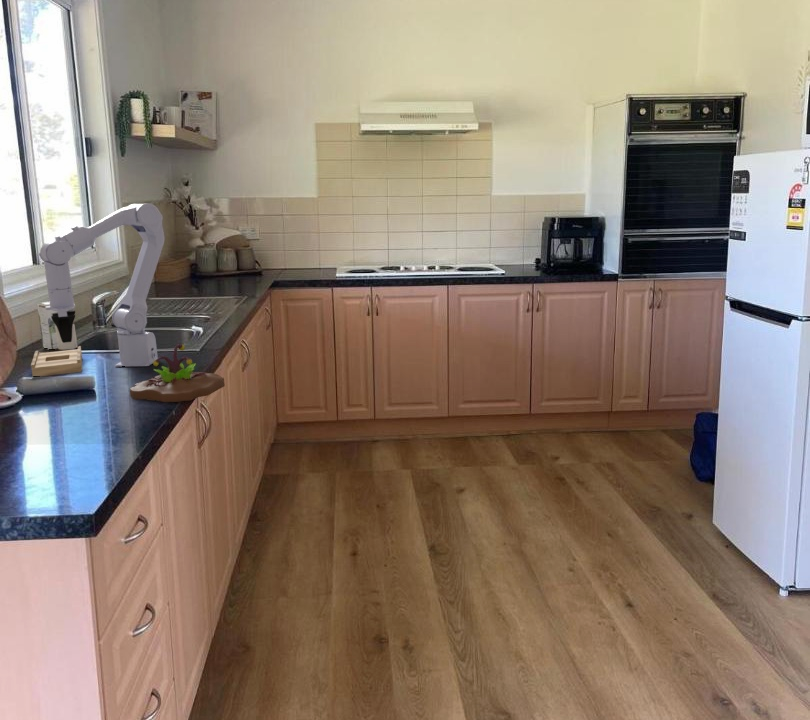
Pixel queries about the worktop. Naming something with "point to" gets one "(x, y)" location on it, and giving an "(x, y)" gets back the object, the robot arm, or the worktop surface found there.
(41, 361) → the jig plate
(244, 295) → the worktop surface
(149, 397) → the plant
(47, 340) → the syrup box
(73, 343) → the cream small block
